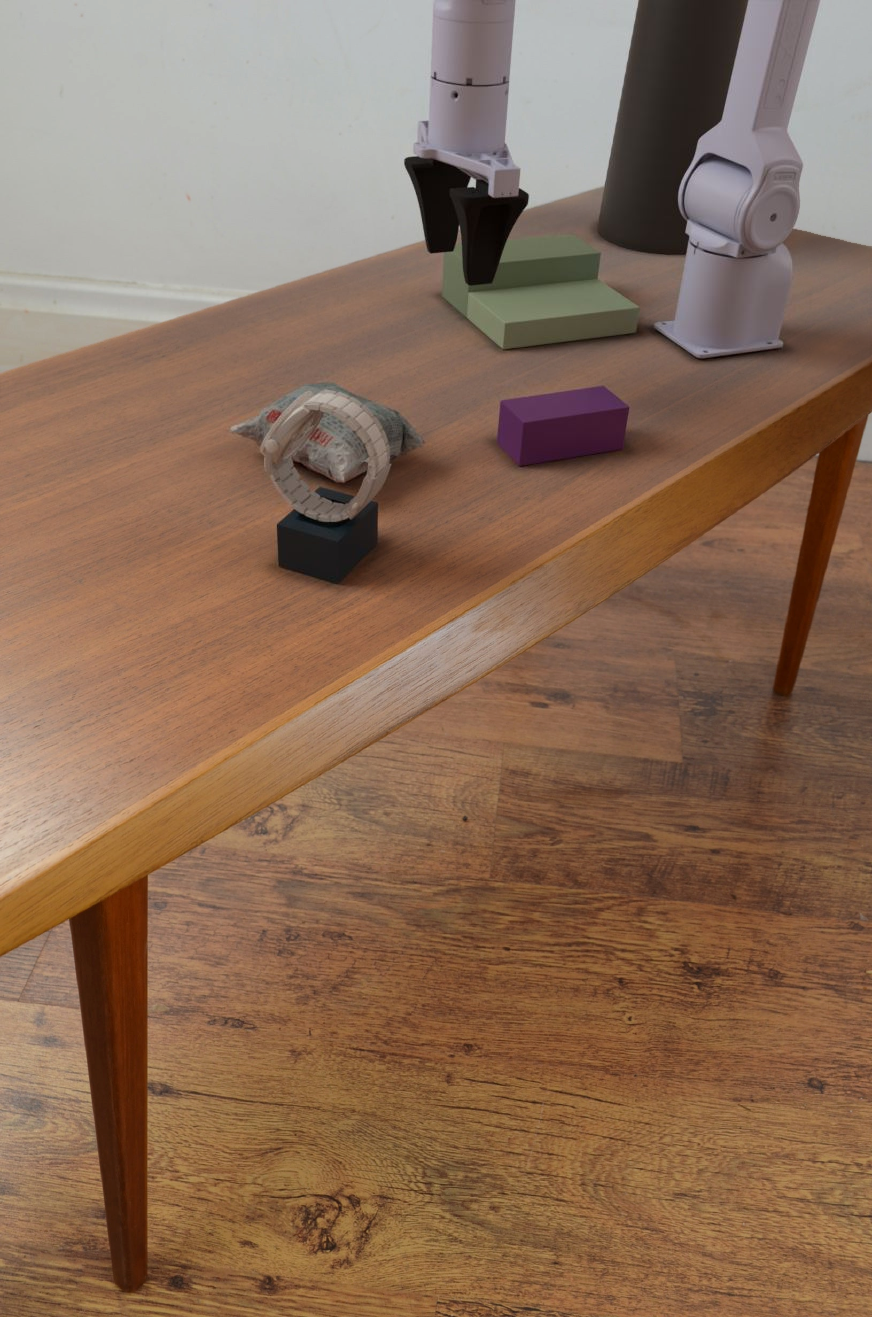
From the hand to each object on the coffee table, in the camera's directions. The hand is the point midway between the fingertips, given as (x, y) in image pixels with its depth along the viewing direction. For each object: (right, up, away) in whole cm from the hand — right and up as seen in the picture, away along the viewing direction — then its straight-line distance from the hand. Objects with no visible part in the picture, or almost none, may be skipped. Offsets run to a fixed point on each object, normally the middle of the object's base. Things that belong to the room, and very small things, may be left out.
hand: (459, 266), depth 91 cm
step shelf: (+7, +3, +21) cm, 22 cm away
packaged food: (-10, -17, -6) cm, 20 cm away
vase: (+24, +18, +42) cm, 51 cm away
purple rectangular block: (+8, -15, -2) cm, 17 cm away
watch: (-9, -24, -16) cm, 30 cm away
